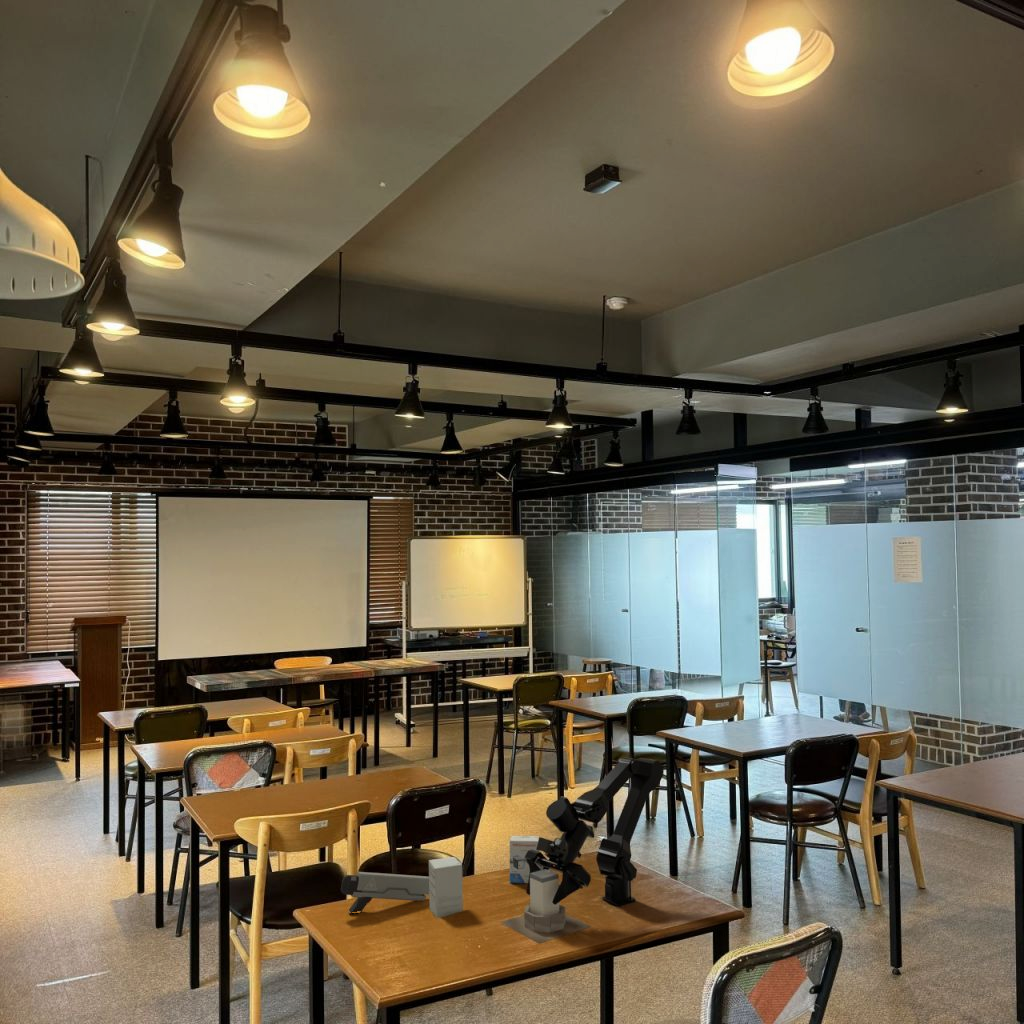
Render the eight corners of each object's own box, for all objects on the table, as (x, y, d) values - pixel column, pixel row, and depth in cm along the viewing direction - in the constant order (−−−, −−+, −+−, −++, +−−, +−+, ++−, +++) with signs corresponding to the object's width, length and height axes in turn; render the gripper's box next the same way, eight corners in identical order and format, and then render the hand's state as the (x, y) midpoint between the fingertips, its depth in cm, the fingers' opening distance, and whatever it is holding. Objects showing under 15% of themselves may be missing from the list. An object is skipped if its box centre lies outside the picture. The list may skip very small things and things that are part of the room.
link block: (546, 918, 218) (545, 869, 219) (559, 924, 214) (558, 874, 215) (530, 923, 215) (529, 873, 216) (543, 930, 211) (542, 878, 212)
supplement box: (456, 905, 232) (455, 856, 233) (463, 915, 225) (462, 864, 226) (428, 909, 230) (428, 859, 231) (435, 919, 223) (434, 868, 224)
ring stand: (550, 911, 226) (550, 893, 226) (591, 931, 213) (591, 911, 213) (499, 927, 217) (499, 907, 217) (539, 948, 204) (538, 927, 204)
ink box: (509, 883, 248) (508, 840, 249) (511, 877, 253) (510, 835, 254) (539, 884, 247) (538, 841, 248) (541, 877, 252) (540, 835, 253)
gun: (334, 910, 227) (342, 870, 229) (423, 915, 238) (430, 876, 239) (337, 913, 225) (345, 873, 226) (427, 918, 235) (434, 879, 237)
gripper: (528, 816, 226) (497, 871, 218) (581, 831, 212) (549, 890, 204) (551, 841, 231) (521, 895, 223) (604, 857, 217) (574, 915, 209)
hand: (540, 898), depth 214 cm, fingers open, 9 cm apart
